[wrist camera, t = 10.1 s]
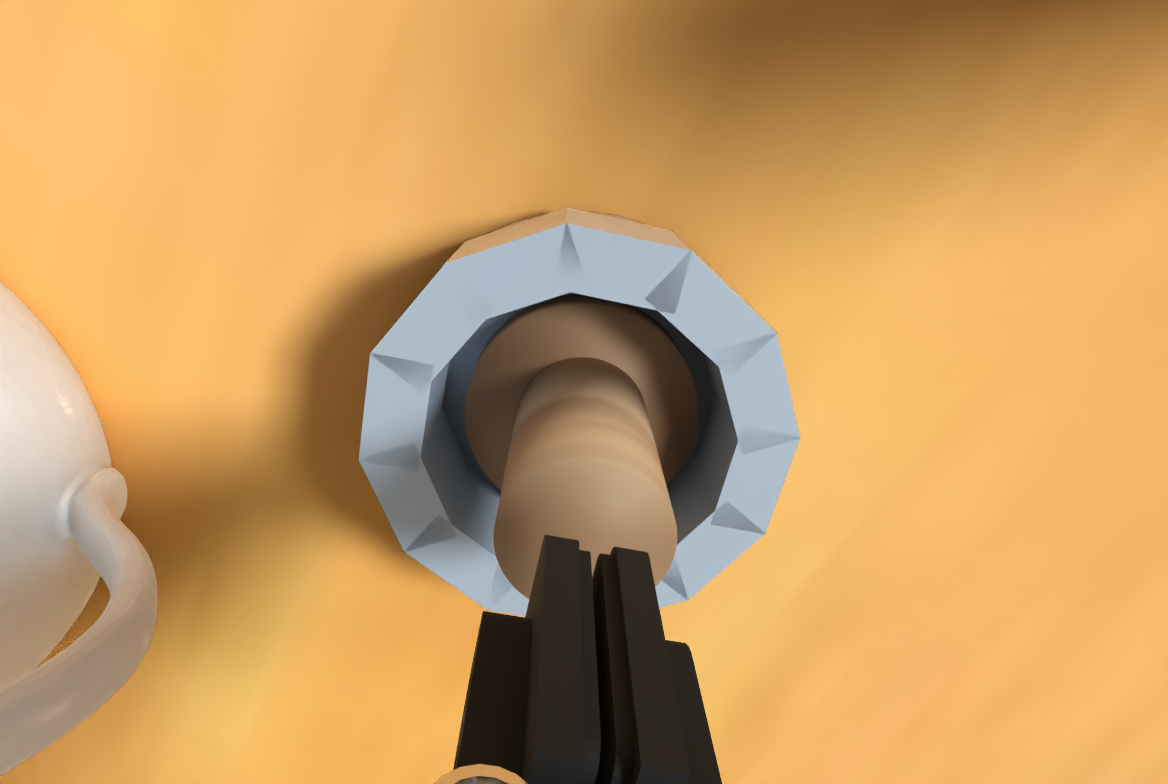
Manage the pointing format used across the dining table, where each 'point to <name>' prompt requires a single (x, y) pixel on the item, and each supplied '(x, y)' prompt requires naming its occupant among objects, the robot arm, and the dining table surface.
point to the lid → (581, 431)
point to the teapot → (59, 546)
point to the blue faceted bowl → (531, 275)
